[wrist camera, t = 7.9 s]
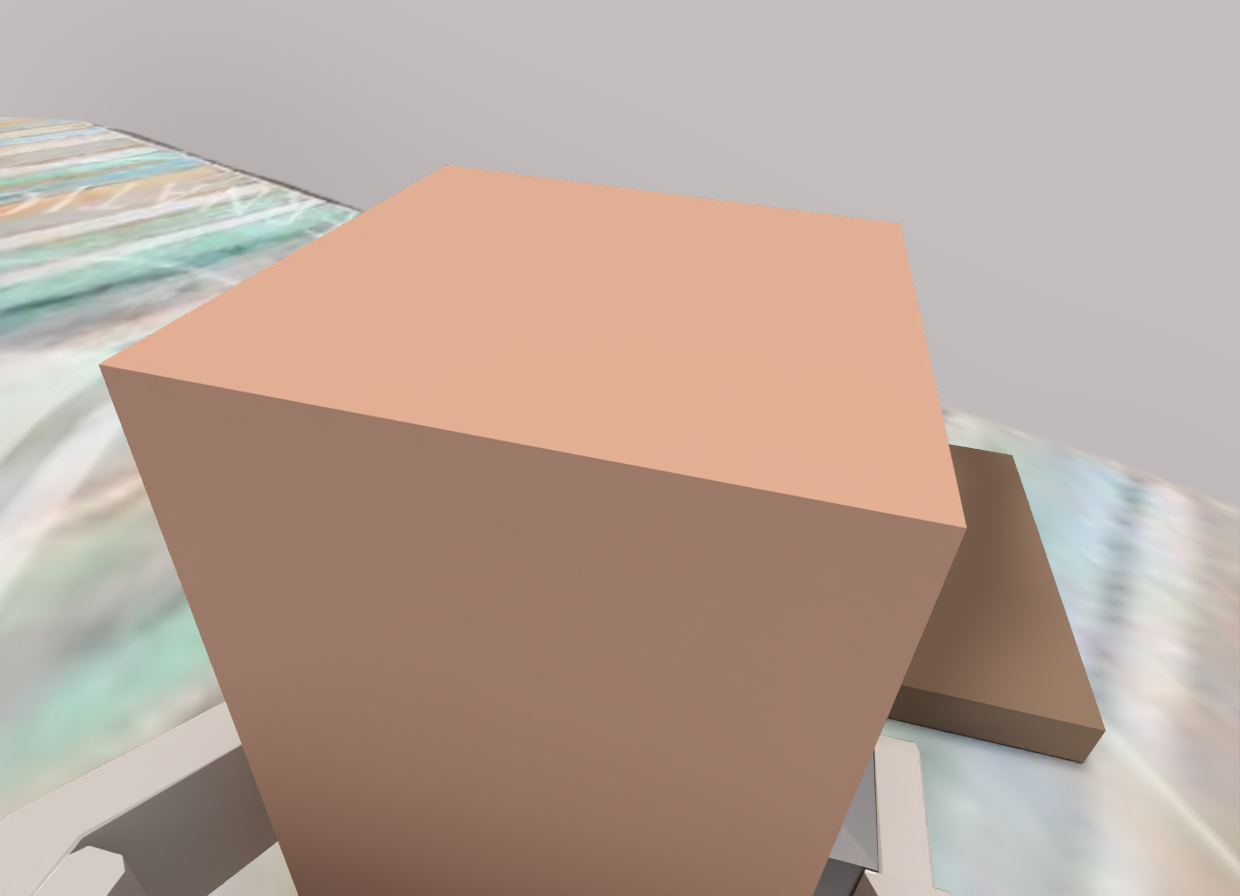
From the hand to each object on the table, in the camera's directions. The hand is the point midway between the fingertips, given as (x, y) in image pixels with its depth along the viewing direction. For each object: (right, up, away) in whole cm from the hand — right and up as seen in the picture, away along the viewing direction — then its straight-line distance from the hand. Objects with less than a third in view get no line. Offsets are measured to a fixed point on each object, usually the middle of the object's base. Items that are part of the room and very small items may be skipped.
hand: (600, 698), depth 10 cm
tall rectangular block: (-1, -6, +3) cm, 7 cm away
